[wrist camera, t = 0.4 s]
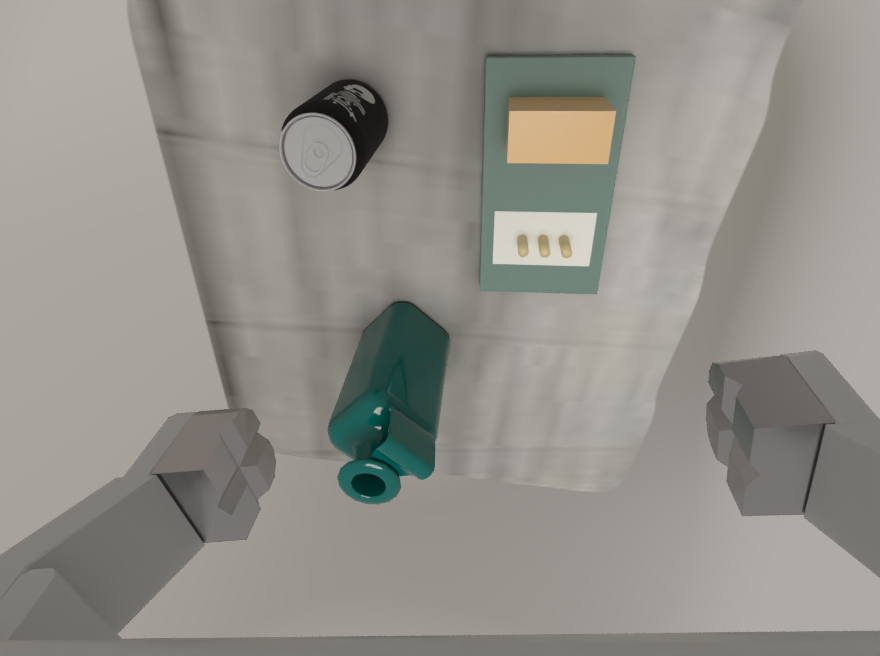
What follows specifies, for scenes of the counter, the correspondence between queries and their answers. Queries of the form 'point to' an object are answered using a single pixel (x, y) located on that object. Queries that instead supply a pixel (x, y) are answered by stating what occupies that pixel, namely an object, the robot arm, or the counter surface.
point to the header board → (547, 179)
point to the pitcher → (390, 404)
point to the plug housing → (559, 130)
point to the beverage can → (333, 135)
